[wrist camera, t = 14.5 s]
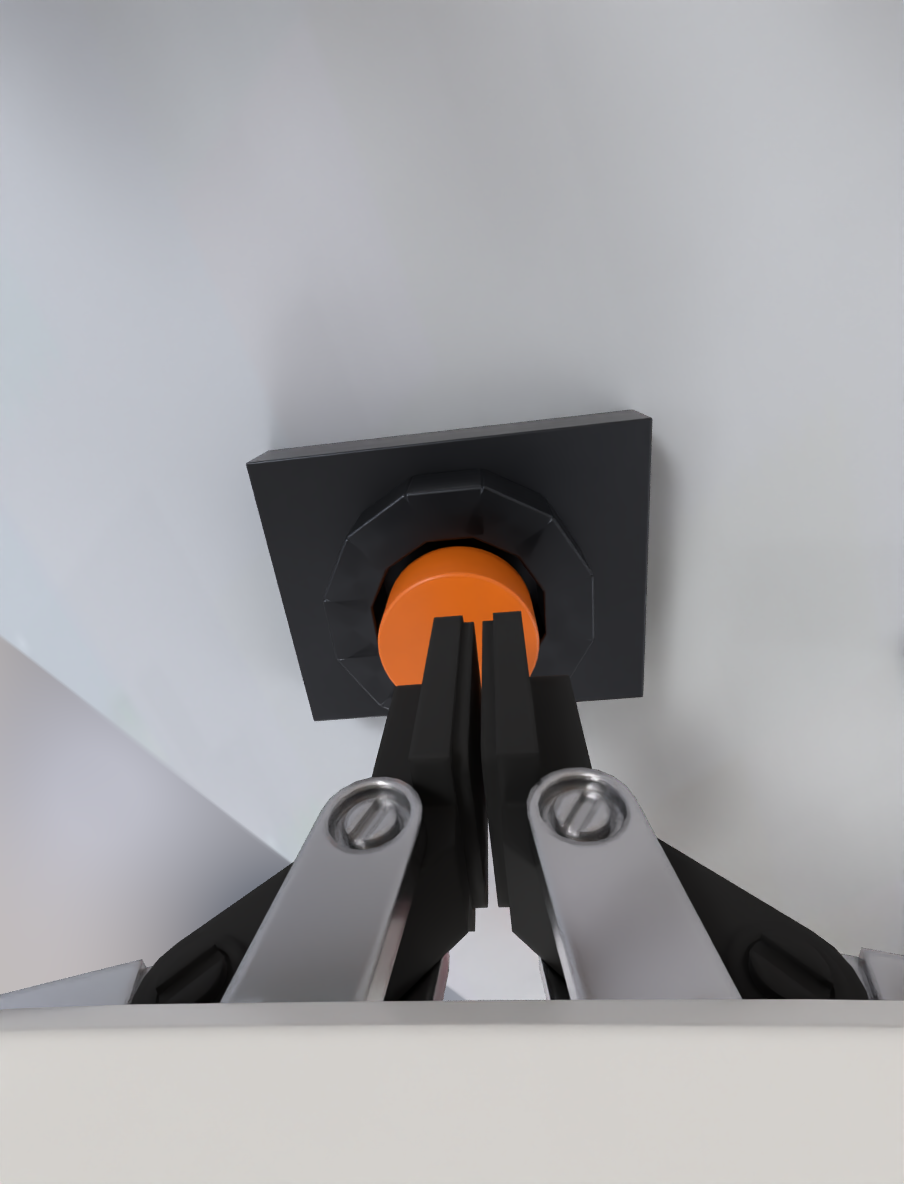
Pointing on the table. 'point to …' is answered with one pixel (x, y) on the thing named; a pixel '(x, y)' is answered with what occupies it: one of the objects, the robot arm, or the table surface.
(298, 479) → the button housing
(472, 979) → the table surface
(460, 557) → the button
